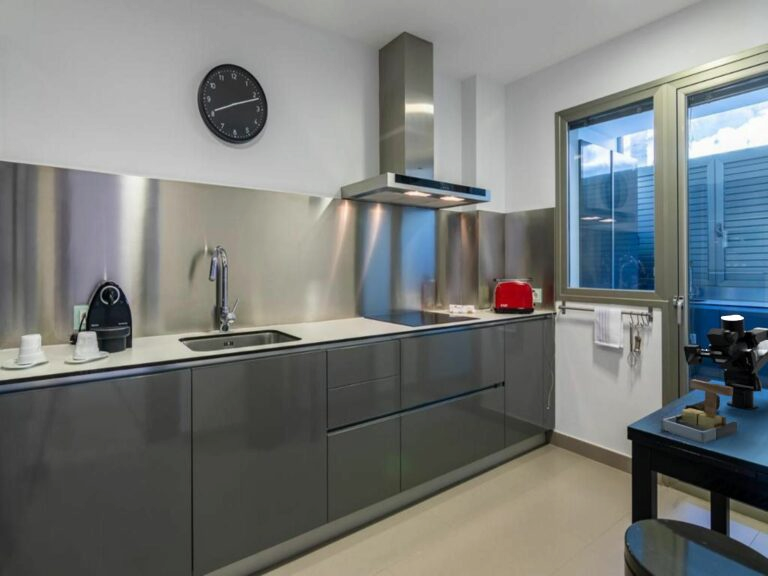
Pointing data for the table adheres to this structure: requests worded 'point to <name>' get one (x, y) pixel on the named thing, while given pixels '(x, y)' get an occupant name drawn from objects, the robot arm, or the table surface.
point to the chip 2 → (709, 420)
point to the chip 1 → (691, 415)
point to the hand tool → (703, 405)
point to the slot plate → (720, 430)
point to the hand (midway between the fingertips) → (704, 365)
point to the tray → (687, 431)
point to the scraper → (711, 394)
